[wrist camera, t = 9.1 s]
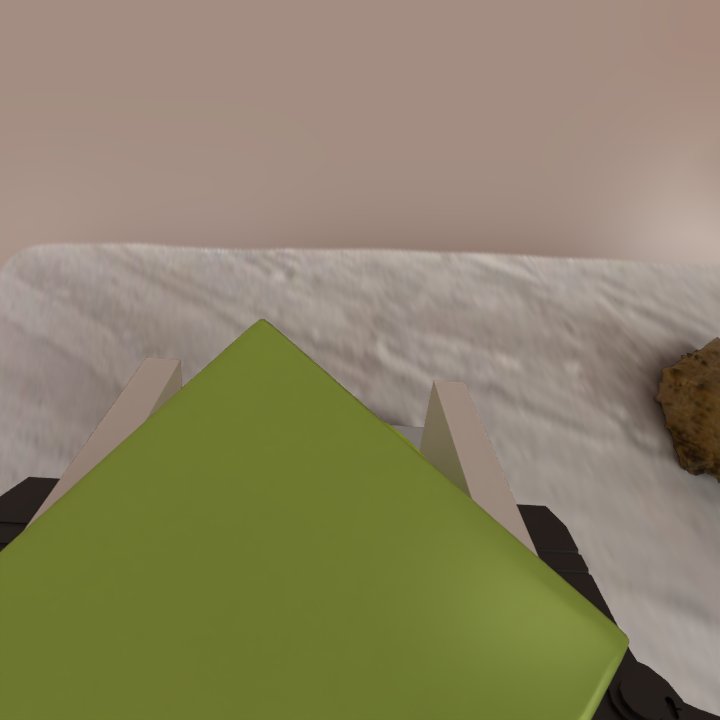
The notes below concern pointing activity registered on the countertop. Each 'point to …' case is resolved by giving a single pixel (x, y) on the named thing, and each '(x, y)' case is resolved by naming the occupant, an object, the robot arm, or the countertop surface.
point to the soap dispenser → (285, 574)
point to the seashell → (694, 408)
